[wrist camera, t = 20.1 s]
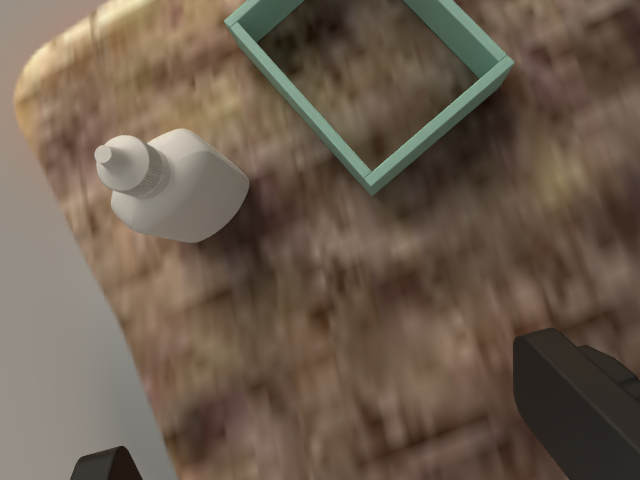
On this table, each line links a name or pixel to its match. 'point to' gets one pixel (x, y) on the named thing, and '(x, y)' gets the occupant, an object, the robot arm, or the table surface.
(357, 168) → the green rectangular frame
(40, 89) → the table surface
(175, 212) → the eye dropper bottle
